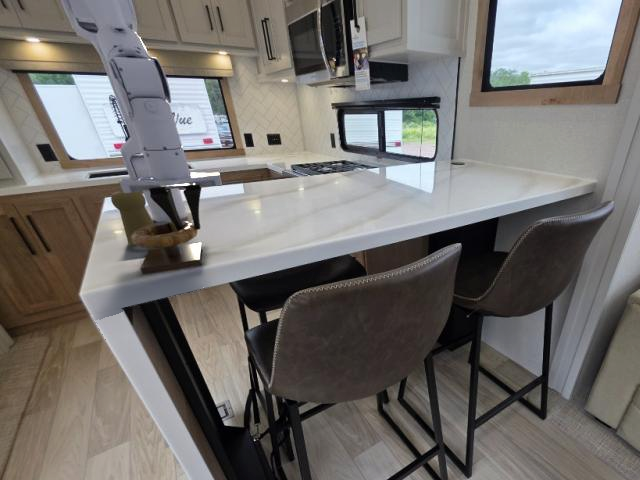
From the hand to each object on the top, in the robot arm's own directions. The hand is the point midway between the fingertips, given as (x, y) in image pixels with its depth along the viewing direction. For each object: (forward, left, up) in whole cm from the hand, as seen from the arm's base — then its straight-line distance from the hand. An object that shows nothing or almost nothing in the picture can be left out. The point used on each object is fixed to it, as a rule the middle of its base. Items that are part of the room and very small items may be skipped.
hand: (189, 229), depth 61 cm
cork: (-11, -10, -6) cm, 16 cm away
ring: (0, -4, 0) cm, 4 cm away
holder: (0, -4, -6) cm, 7 cm away
